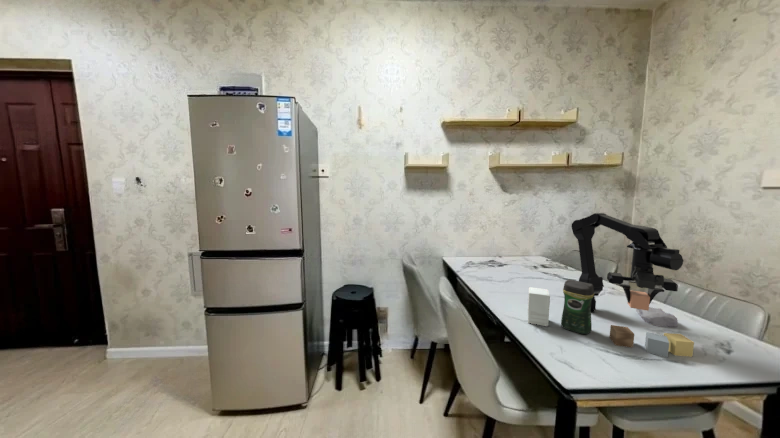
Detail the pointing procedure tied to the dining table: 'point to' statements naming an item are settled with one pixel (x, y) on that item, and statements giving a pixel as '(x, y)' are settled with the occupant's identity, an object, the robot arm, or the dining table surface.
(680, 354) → the ochre cube
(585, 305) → the coffee jar
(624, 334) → the walnut cube
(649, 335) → the slate cube
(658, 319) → the stone block
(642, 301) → the terracotta cube
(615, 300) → the dining table surface
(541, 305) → the supplement box
